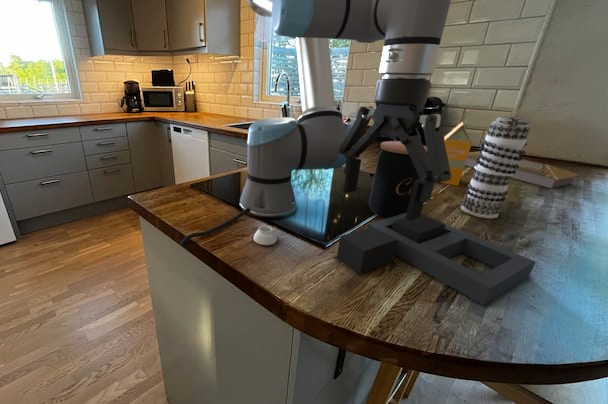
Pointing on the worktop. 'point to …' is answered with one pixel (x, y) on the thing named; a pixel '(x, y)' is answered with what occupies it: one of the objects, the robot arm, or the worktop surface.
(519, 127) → the decorative candle
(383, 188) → the coffee jar
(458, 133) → the orange juice
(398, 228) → the pad
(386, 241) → the pad
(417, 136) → the robot arm
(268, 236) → the white upturned bowl
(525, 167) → the rafter model
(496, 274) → the base pad
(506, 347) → the worktop surface
